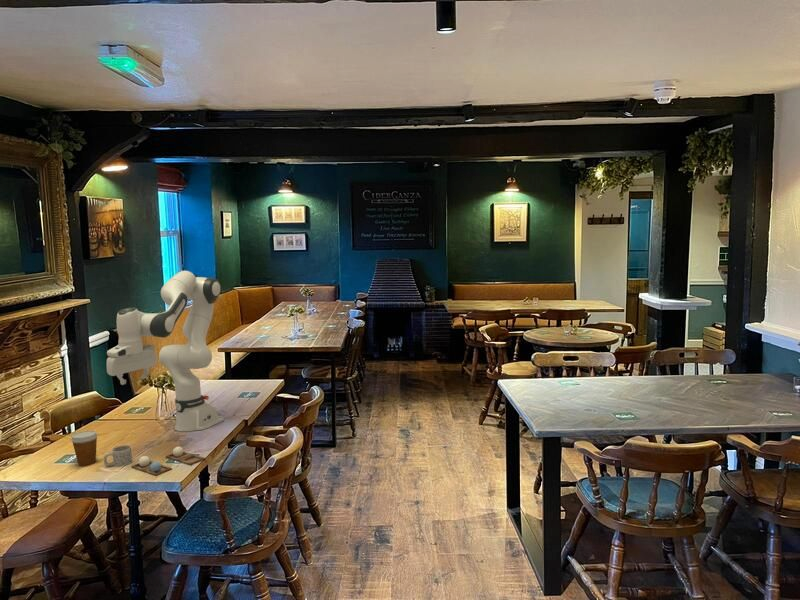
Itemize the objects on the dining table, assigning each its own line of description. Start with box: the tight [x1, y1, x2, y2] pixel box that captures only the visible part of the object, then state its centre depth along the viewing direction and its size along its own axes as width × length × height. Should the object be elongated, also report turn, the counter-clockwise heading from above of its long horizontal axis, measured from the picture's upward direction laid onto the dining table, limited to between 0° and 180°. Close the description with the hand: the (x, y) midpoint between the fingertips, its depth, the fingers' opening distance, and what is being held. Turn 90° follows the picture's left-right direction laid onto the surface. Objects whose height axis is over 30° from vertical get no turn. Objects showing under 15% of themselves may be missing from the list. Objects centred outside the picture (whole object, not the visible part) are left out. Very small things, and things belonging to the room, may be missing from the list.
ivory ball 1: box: [138, 455, 151, 467], centre depth 230 cm, size 4×4×4 cm
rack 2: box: [165, 450, 206, 466], centre depth 237 cm, size 16×7×1 cm, turn 56°
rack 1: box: [130, 460, 173, 477], centre depth 228 cm, size 16×7×1 cm, turn 56°
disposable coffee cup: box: [70, 429, 99, 467], centre depth 237 cm, size 10×10×12 cm
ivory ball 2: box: [172, 446, 184, 457], centre depth 239 cm, size 4×4×4 cm
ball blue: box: [150, 461, 162, 472], centre depth 224 cm, size 4×4×4 cm
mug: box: [103, 445, 133, 467], centre depth 234 cm, size 10×7×7 cm
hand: (134, 381), depth 242 cm, fingers open, 8 cm apart
